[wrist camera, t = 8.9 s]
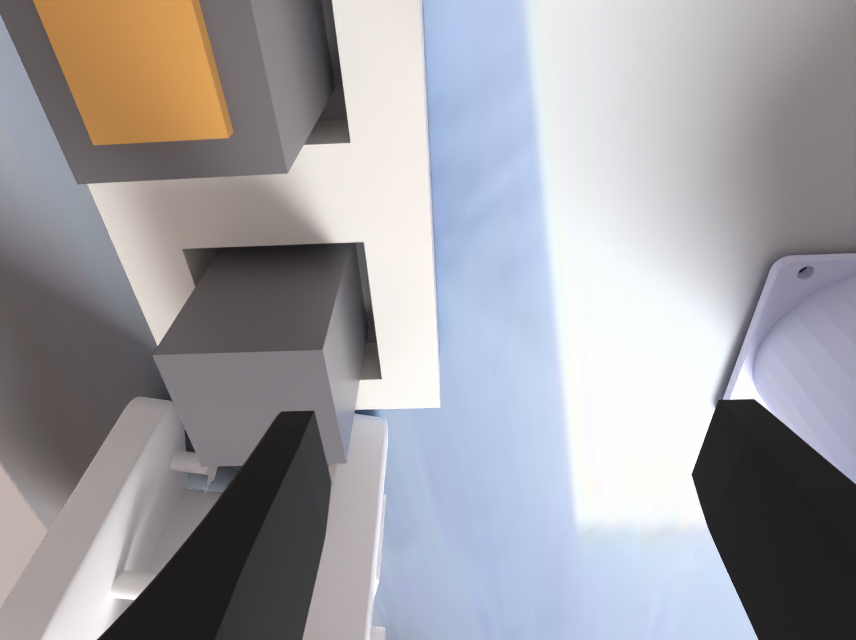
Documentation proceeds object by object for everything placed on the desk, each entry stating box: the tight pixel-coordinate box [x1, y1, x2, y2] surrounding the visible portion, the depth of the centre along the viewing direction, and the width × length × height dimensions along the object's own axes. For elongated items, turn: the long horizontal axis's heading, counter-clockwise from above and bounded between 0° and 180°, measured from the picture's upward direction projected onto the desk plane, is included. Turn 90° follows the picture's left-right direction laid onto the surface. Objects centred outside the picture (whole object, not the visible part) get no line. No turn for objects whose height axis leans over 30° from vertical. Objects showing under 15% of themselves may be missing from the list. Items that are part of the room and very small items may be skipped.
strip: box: [88, 0, 440, 467], centre depth 13 cm, size 22×9×7 cm, turn 3°
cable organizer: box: [0, 396, 388, 640], centre depth 22 cm, size 15×11×12 cm
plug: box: [0, 0, 335, 184], centre depth 12 cm, size 4×4×6 cm
